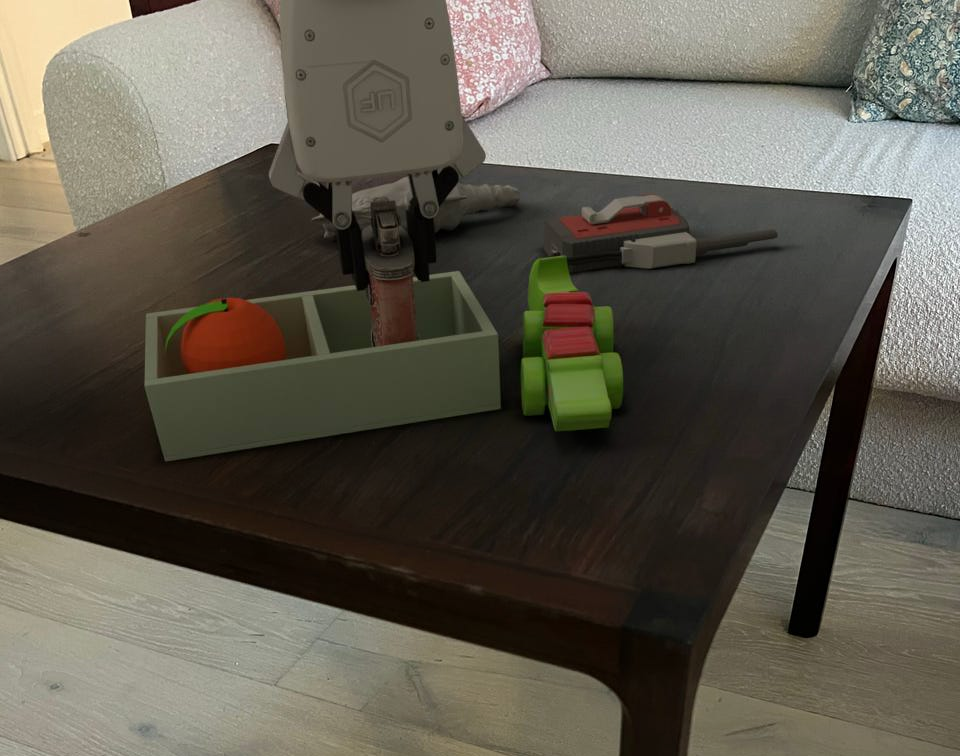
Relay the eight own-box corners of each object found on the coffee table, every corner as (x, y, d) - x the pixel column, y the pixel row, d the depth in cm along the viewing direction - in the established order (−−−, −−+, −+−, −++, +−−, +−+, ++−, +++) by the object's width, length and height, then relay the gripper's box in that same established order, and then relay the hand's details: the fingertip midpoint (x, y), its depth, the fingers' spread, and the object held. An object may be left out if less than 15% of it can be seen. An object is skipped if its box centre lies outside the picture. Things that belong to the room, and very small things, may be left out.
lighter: (367, 330, 76) (351, 186, 69) (413, 325, 76) (402, 181, 70) (377, 381, 70) (361, 229, 63) (428, 375, 70) (417, 224, 64)
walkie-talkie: (559, 288, 87) (780, 254, 90) (559, 234, 84) (787, 201, 88) (529, 252, 94) (736, 222, 97) (528, 201, 91) (741, 172, 94)
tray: (501, 412, 71) (498, 333, 68) (166, 465, 68) (144, 385, 64) (463, 343, 80) (459, 270, 76) (165, 387, 77) (145, 313, 73)
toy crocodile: (628, 455, 66) (633, 365, 62) (522, 459, 66) (520, 369, 62) (605, 325, 81) (607, 246, 77) (519, 329, 81) (517, 250, 77)
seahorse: (471, 179, 107) (294, 193, 97) (540, 160, 98) (351, 173, 88) (478, 233, 109) (304, 251, 99) (546, 219, 100) (361, 238, 90)
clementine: (194, 437, 69) (168, 334, 64) (167, 396, 74) (141, 297, 69) (308, 406, 72) (291, 304, 67) (275, 367, 76) (256, 271, 72)
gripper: (206, -26, 54) (269, 318, 66) (518, -55, 56) (525, 282, 68) (201, -45, 59) (261, 275, 71) (485, -70, 62) (497, 244, 74)
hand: (389, 276), depth 70 cm, fingers closed on lighter, 3 cm apart
